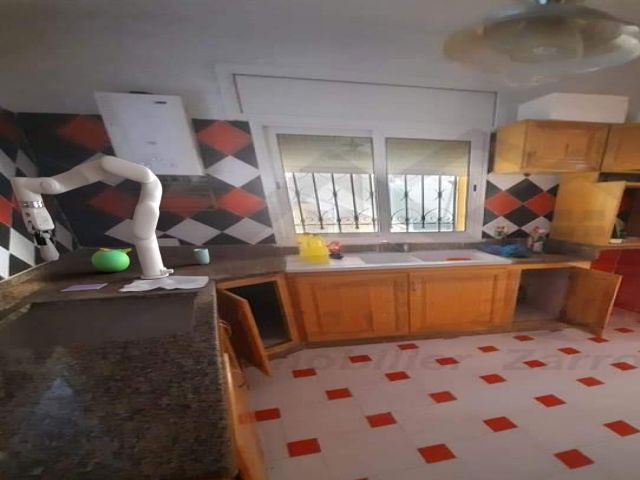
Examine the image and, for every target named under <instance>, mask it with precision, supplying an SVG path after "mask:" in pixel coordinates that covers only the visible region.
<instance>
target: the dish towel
mask: <svg viewBox="0 0 640 480" xmlns="http://www.w3.org/2000/svg"><path fill="white" fill-rule="evenodd" d="M107 285H109V283H107V282H106V283H95V284H94V283H92V284H81V285H71V286H70V287H67V288H64V289H61V290H60V291H59V292H60V293H65V292H79V291H80V292H81V291H92V290H93V291H94V290H98V289H101V288H103V287H105V286H107Z"/></svg>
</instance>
